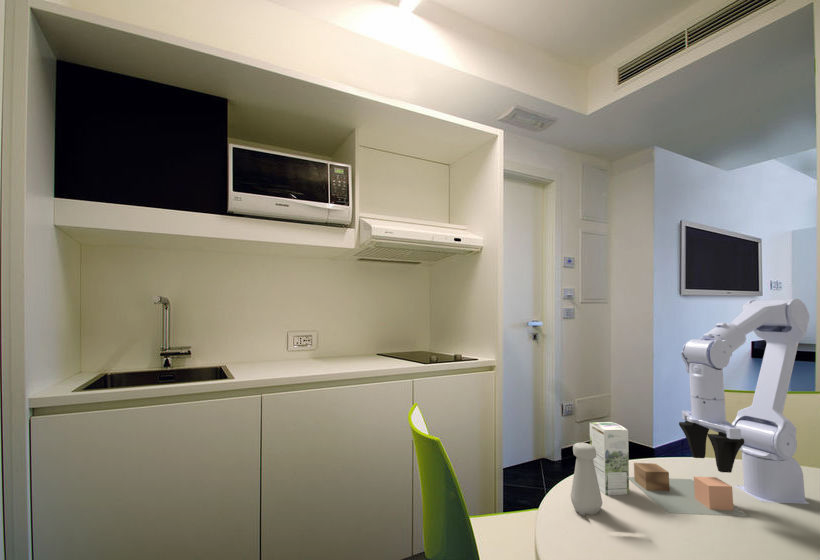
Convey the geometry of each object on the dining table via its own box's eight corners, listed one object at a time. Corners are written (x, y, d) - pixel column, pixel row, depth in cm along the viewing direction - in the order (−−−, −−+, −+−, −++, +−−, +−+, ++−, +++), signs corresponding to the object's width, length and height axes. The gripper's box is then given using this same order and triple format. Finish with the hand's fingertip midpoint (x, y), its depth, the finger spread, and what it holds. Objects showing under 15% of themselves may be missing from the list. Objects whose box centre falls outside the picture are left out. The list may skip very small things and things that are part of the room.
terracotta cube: (717, 499, 82) (715, 477, 82) (733, 510, 77) (732, 486, 77) (694, 498, 82) (693, 476, 82) (709, 509, 77) (708, 485, 78)
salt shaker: (596, 505, 80) (594, 440, 81) (607, 520, 74) (605, 449, 75) (566, 503, 80) (565, 439, 81) (575, 518, 75) (573, 448, 76)
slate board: (691, 481, 92) (691, 479, 92) (749, 519, 75) (749, 516, 75) (626, 479, 93) (625, 476, 93) (668, 516, 76) (668, 512, 76)
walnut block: (656, 481, 90) (655, 463, 91) (669, 491, 85) (668, 472, 86) (634, 480, 91) (633, 462, 91) (646, 490, 86) (645, 471, 86)
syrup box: (612, 484, 89) (611, 420, 90) (630, 497, 84) (628, 428, 85) (589, 486, 89) (588, 421, 90) (606, 498, 83) (604, 429, 84)
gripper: (666, 390, 89) (669, 451, 88) (711, 404, 74) (716, 478, 73) (699, 391, 88) (702, 452, 87) (750, 405, 74) (755, 479, 73)
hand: (711, 464), depth 80 cm, fingers open, 7 cm apart
